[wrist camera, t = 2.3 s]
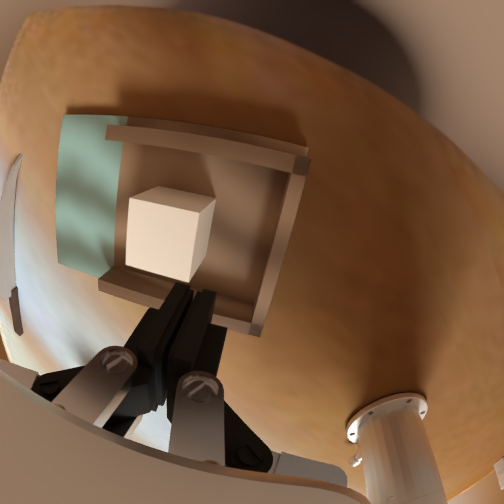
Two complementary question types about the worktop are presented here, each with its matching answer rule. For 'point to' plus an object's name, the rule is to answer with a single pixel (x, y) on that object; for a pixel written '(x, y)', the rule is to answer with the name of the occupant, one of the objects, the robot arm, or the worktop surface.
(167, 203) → the cream block
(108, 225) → the walnut cubby
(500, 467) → the skincare box
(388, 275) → the worktop surface
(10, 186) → the kitchen knife
